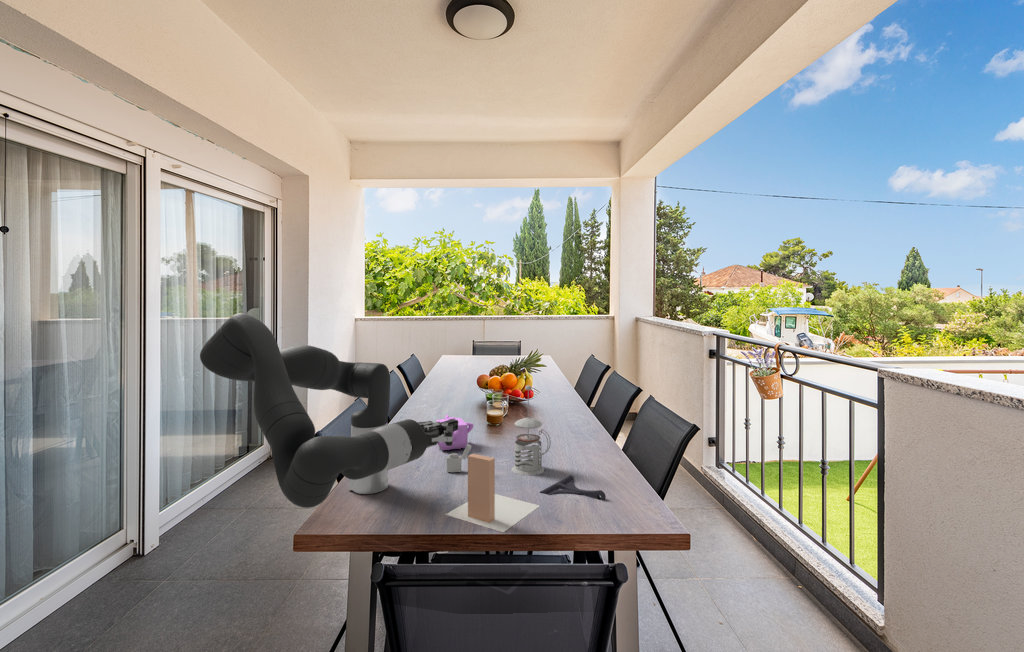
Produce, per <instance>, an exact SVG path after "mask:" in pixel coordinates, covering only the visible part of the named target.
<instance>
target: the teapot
mask: <svg viewBox="0 0 1024 652" xmlns="http://www.w3.org/2000/svg"><path fill="white" fill-rule="evenodd" d="M444 417H445V418H440V419H436V422H444V421H447V420H450V419H454V420H458V430H457V431H454V432H453V443H452V445H451V446H447V445H446V444H444V442H438V444H437V445H438V446H439V448H440V449H441V451H444V450H448V451H449V450H462V449H461V448H463V449H465V448H466V446H467V444H469V442H468V441H469V440H468V436H469V435H468V434H470V432H472V430H473V429H474V427H475V426H474V423H472V422H465V420H464V419H462V418H461V417H455V416H451V417H450V416H449V414H445V416H444Z"/></svg>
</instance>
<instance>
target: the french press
mask: <svg viewBox="0 0 1024 652" xmlns="http://www.w3.org/2000/svg"><path fill="white" fill-rule="evenodd" d="M524 389H525V390H526V391H527V417H524V418H521V419H517V420H516V421H515V422H514V423H513V424H514V426H515V427H516V428H519V429H527V433H524V434H523V433H522V434H521V433H520V434H518V435H516V436H515V437H516V438H515V439H516V440H515V443H514V465H513V467H511V472H512V471H513V473H514V472H515V473H514V474H516V473H517V475H519V474H520V476H527V475H529V476H537V475H536V474H538V475H541V474H543V473H544V472H545V471H544V469H545V468H544V467H543V466H542V463H543V461H542V460H543V459H542V458H543V457H542V456H544V455H545V454H547V453H548V452H549V450H550V448H551V441H552V440H551V437H550V435H549V433H548V432H547V431H546V430H545V429H543V428H541V429H540V430H539V431H538V434H534V433H529V429H531V430H533V429H538V428H540V427H541V426H542V425H543V423H542V422H541V421H540V420H539V419H537V418H533V417H529V415H530V414H529V413H530V411H529V410H530V407H529V406H530V405H529V404H530V403H529V402H530V399H529V398H530V395H529V394H530V393H529V391H530V390H532V386H531V385H529V384H527V385H525V388H524ZM542 434H543V435H544V436H545V438H546V441H547V446H546V449H545V451H544V452H543V453H542V441H541V440H540V439H541V435H542ZM527 450H528V451H527ZM522 455H523V456H522ZM524 459H525V460H524Z"/></svg>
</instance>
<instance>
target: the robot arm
mask: <svg viewBox="0 0 1024 652" xmlns="http://www.w3.org/2000/svg"><path fill="white" fill-rule="evenodd" d="M199 359H200V362H201V364H202V366H203V367H205V368H206V369H207V370H208V371H210V372H211V373H212V374H215V375H216V376H219V377H222V378H224V379H228V380H233V381H239V382H240V381H241V382H254V387H253V410H254V411H253V412H254V415H255V419H256V421H257V425H258V426H259V428H260V431H261V432H262V435H263V436H264V437H265V440H266V441H267V443H268V445H269V447H270V449H271V453H272V460H273V462H272V463H273V465H274V469H275V470H274V471H275V474H276V479H277V482H278V485H279V488H280V490H281V492H282V494H283V496H284V497H285V499H287V500H288V501H289V502H290V503H292V504H293V505H294V506H298V507H300V508H303V509H306V508H307V509H308V508H309V509H310V508H315V507H317V506H319V505H321V504H322V503H323V502H324V501H325V500H326V499H327V497H328V496H329V494H330V493H331V491H332V488H333V486H334V484H335V483H336V481H337V478H338V477H339V475H340V474H341V475H343V477H345V478H346V479H348V490H349V491H352V492H353V493H355V494H359V495H360V494H362V495H370V494H372V495H373V494H376V493H380V492H383V491H385V490H387V489H388V487H389V470H392V469H394V468H395V469H396V468H398V467H400V466H403V465H406V464H408V463H411V462H413V461H415V460H418V459H420V458H421V457H423V455H424V453H425V452H426V450H427V448H428V449H429V448H431V447H433V446H437V445H438V442H444V444H446V445H447V446H451V445H452V443H453V432H454V431H457V430H458V420H454V419H450V420H447V421H444V422H437V421H436V422H433V421H431V420H427V421H416V420H413V419H405V420H404V419H403V420H400V421H397V422H393V423H390V424H389V423H388V421H389V420H388V419H389V418H388V417H389V416H388V415H389V413H390V412H389V411H390V406H391V405H390V401H391V400H390V399H391V398H390V397H391V374H390V371H389V368H388V366H387V365H386V364H384V363H380V362H379V363H377V362H350V361H343V360H341V361H340V360H339V358H338V356H336V355H335V354H334V352H331V351H329V350H326V349H323V348H320V347H317V346H312V345H309V344H308V345H306V344H303V345H301V344H300V345H297V346H291V347H288V348H287V347H286V348H284V349H280V347H279V345H278V342H277V339H276V338H275V335H274V333H272V331H271V330H270V328H269V327H268V326H267V325H266V324H264V323H263V322H262V321H261V320H259V319H258V318H257V317H255V316H253V315H250V314H247V313H243V312H239V313H234V314H233V315H231V316H230V317H229V318H228V319H227V320H225V321H224V322H223V324H222V325H220V326H219V328H218V329H217V330H216V331H215V332H214V334H213V335H212V336H211V337H210V338H209V339H208V340H207V341H206V343H205V344H204V345H203V347H202V348H201V350H200V354H199ZM293 386H295V387H299V388H304V389H310V390H317V391H326V390H332V391H336V392H338V393H342V394H345V395H346V396H348V397H353V398H357V399H358V398H361V399H367V404H366V407H365V408H363V409H360V410H357V411H354V412H353V413H352V414H351V417H350V424H351V425H350V428H351V429H350V433H351V434H350V436H343V435H337V436H336V435H319V436H316V428H315V424H314V422H313V420H312V419H311V417H310V415H309V414H308V412H307V410H306V409H305V407H304V405H303V404H302V402H301V400H300V399H299V397H298V396H297V393H296V391H295V389H294V387H293Z"/></svg>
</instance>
